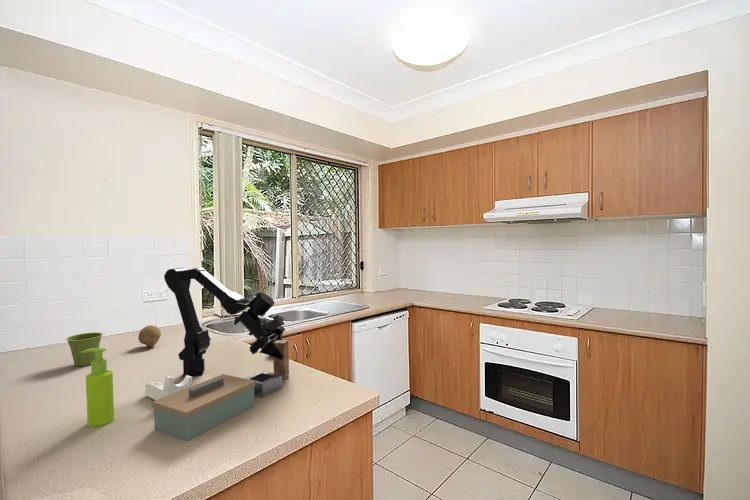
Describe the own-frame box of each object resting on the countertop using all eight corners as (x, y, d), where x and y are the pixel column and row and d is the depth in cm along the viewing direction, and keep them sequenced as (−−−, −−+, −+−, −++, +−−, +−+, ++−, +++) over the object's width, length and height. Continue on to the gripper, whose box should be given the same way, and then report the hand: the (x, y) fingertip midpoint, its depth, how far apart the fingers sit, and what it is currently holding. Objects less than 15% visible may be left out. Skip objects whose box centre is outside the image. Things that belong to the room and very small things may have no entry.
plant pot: (59, 367, 150) (58, 338, 150) (92, 358, 161) (91, 331, 161) (79, 370, 146) (78, 341, 146) (110, 361, 157) (109, 333, 156)
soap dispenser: (92, 417, 107) (90, 346, 106) (118, 416, 108) (116, 345, 107) (78, 427, 101) (75, 352, 100) (105, 426, 102) (103, 351, 101)
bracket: (187, 402, 119) (192, 377, 120) (164, 404, 113) (170, 377, 114) (166, 392, 126) (171, 369, 128) (143, 394, 121) (149, 369, 122)
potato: (153, 349, 172) (153, 327, 172) (134, 350, 172) (133, 327, 172) (165, 344, 181) (164, 323, 181) (146, 344, 181) (145, 323, 181)
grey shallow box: (241, 392, 123) (241, 379, 123) (262, 382, 131) (261, 371, 131) (262, 397, 119) (262, 384, 119) (282, 387, 127) (282, 375, 127)
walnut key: (273, 378, 134) (273, 342, 134) (278, 374, 138) (277, 339, 138) (284, 378, 134) (283, 343, 133) (289, 374, 138) (288, 340, 137)
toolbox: (152, 429, 100) (151, 394, 99) (236, 390, 124) (235, 362, 124) (187, 441, 93) (186, 404, 93) (268, 398, 118) (267, 368, 118)
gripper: (257, 314, 127) (290, 348, 125) (279, 304, 145) (308, 334, 144) (235, 337, 128) (267, 371, 127) (260, 324, 146) (288, 354, 145)
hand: (284, 356), depth 135 cm, fingers open, 4 cm apart
